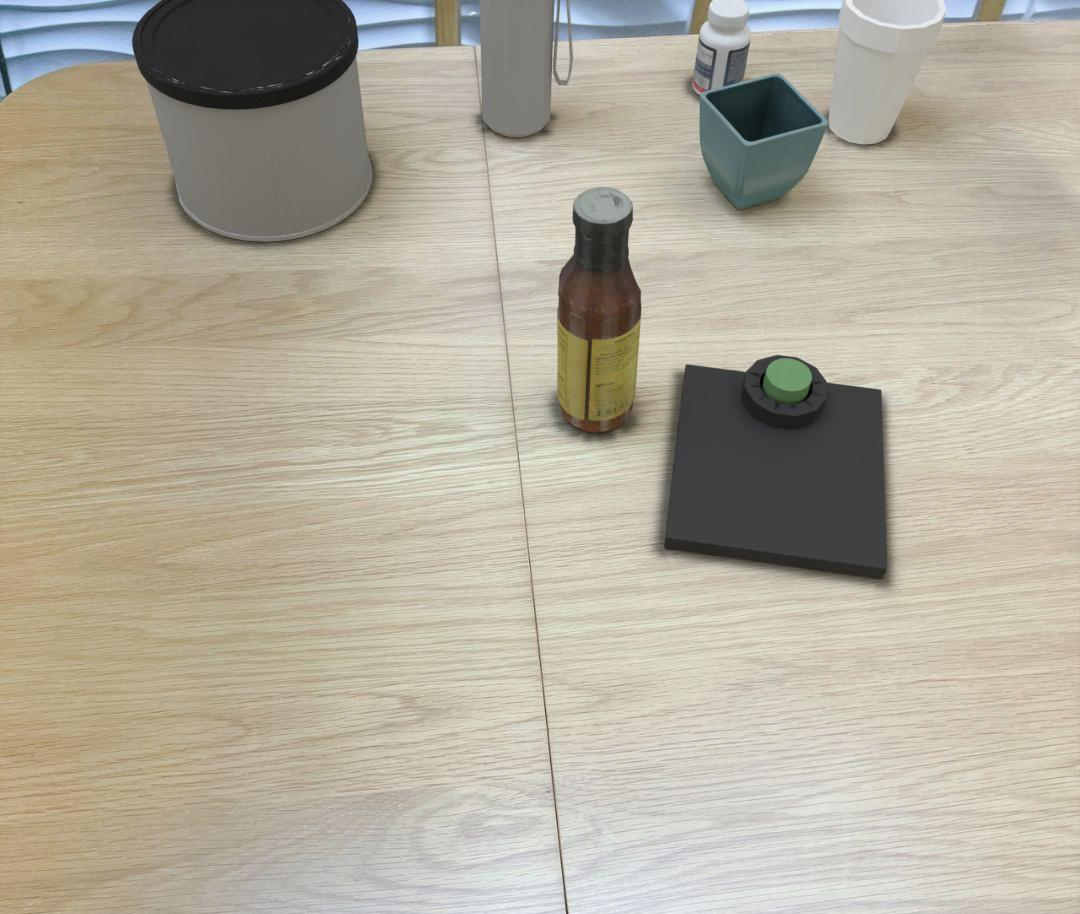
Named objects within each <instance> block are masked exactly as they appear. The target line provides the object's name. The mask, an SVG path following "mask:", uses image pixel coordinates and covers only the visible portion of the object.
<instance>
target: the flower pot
mask: <svg viewBox="0 0 1080 914" xmlns="http://www.w3.org/2000/svg"><path fill="white" fill-rule="evenodd" d="M828 127H829V120H828V119H827V118H826V117H825V116H824V115H823V114H822V113H821V112H820V111H819V110H818V109H817V108H816V107H815V106H814V105H813V104H812V103H810V101H809V100H808V99H807V98H805V96H803V94H802V93H801V92H800V91H798V89H797V88H796V87H795V86H794V85H793V84H792V83H791V82H790V81H789V80H788V79H787V78H786V77H785V76H784V75H782V74H781V73H779V72H775V73H771V74H767V75H763V76H762V75H761V76H759V77H756V78H752V79H748V80H743V82H740V83H736V84H732V85H729V86H725V87H721V88H717V89H712V90H708V91H705V92H702V93H701V94H700V95H699V128H698V129H699V145H700V150H701V151H700V152H701V156H702V159H703V162H704V164H705V167H706V169H707V171H708V173H709V176H710V178H711V179H712V182H713V183H714V184H715V185H716V186H717V188H718V189H719V190H720V191H721V192H722V193H723V194H724V196H726V198H727V199H728V200H729V202H731V204H732V205H733V207H735V208H736V209H738V210H743V209H746V208H751V207H754V206H757V205H760V204H763V203H768V202H771V201H775V200H778V199H781V198H783V197H784V196H785V195H787V194H788V193H789V192H790V191H791V190H793V189H794V188H795V187H796V186H797V185H798V184H799V183H800V182H801V180H802V179H803V178H804V177H805V176H806V174H807V173H808V171H809V169H810V168H811V167H812V165H813V162H814V159H815V157H816V156H817V155H816V154H817V152H818V150H819V148H820V146H821V143H822V141H823V138H824V136H825V133H826V131H827V128H828Z"/></svg>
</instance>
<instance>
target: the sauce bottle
mask: <svg viewBox="0 0 1080 914" xmlns="http://www.w3.org/2000/svg"><path fill="white" fill-rule="evenodd" d="M633 222H634V207H633V201H632V200H631V198H630V197H629V196H628V195H627V194H626V193H623V192H622V191H621V190H619V189H617V188H615V187H610V186H598V187H592V188H588V189H587V190H585V191H583V192H581V193H579V194H577V196H576V197H575V198H574V200H573V204H572V224H573V225H574V246H573V254H572V255H571V256H570V257H569V259H568V260H567V262H566V263H565V264H564V266H563V267H562V268H561V269H560V273H559V275H558V288H557V296H558V303H557V304H558V305H557V310H556V322H557V323H556V328H557V329H556V332H557V333H556V337H557V340H556V341H557V344H556V345H557V346H556V347H557V353H556V355H557V357H556V358H557V361H556V364H557V365H556V367H557V368H556V369H557V371H556V378H557V379H556V381H557V383H556V385H557V386H556V396H557V400H558V402H559V408H560V411H561V414H562V418H564V420H565V421H566V422H567V423H569V424H570V425H572V426H574V427H575V428H577V429H580V430H582V431H585V432H587V433H598V434H599V433H604V432H610V431H614V430H616V429H618V428H620V427H621V426H622V425H624V424H625V422H626V421H627V420H628V419H629V418H630V415H631V413H632V411H633V409H634V408H633V407H634V401H635V398H636V389H637V387H636V386H637V375H638V364H639V363H638V362H639V348H640V337H641V336H640V335H641V322H642V290H641V288H640V286H639V284H638V283H637V280H636V277H635V275H634V272H633V269H632V267H631V261H630V257H629V255H630V249H629V248H630V247H629V236H630V228H631V226H632V224H633Z"/></svg>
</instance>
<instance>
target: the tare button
mask: <svg viewBox="0 0 1080 914" xmlns="http://www.w3.org/2000/svg"><path fill="white" fill-rule="evenodd" d="M811 381H812V374H811V371H810V370H809V368H808V367H807V366H806V365H805V364H803V363H801V362H800V361H797V360H794V359H789V358H783V359H778V360H775V361H773V362H772V363H770V364H769V366H768V367H767V370H766V373H765V377H764V381H763V389H764V392H765V393H766V395H767V396H768V397H769V398H771V399H773V400H775V401H776V402H778V403H785V404H795V403H798V402H800V401H802V400H803V399H804V398H805V397H806V396H807V394H808V390H809V387H810V384H811Z"/></svg>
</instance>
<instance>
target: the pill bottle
mask: <svg viewBox="0 0 1080 914" xmlns="http://www.w3.org/2000/svg"><path fill="white" fill-rule="evenodd" d="M707 12H708V13H707V20H706V21H705V22H704V23H703V24H702V25H701V26H700V30H699V34H698V40H697V41H698V42H697V48H696V54H695V55H696V56H695V64H694V69H693V77H692V88H693V91H694V92H695V93H696V94H697V95H698V96H700V94H701V93H702V92H705V91H708V90H712V89H717V88H721V87H725V86H729V85H732V84H736V83H740V82H744V81H745V80H744V79H745V74H746V69H747V62H748V57H749V50H750V45H751V40H752V39H751V38H752V34H751V29H750V27H749V26H748V25H747V24H748V21H749V20H748V18H749V13H750V8H749V4H748V3H747V2H745V1H744V0H712V1H711V2H710V3H709V6H708V11H707Z"/></svg>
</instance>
